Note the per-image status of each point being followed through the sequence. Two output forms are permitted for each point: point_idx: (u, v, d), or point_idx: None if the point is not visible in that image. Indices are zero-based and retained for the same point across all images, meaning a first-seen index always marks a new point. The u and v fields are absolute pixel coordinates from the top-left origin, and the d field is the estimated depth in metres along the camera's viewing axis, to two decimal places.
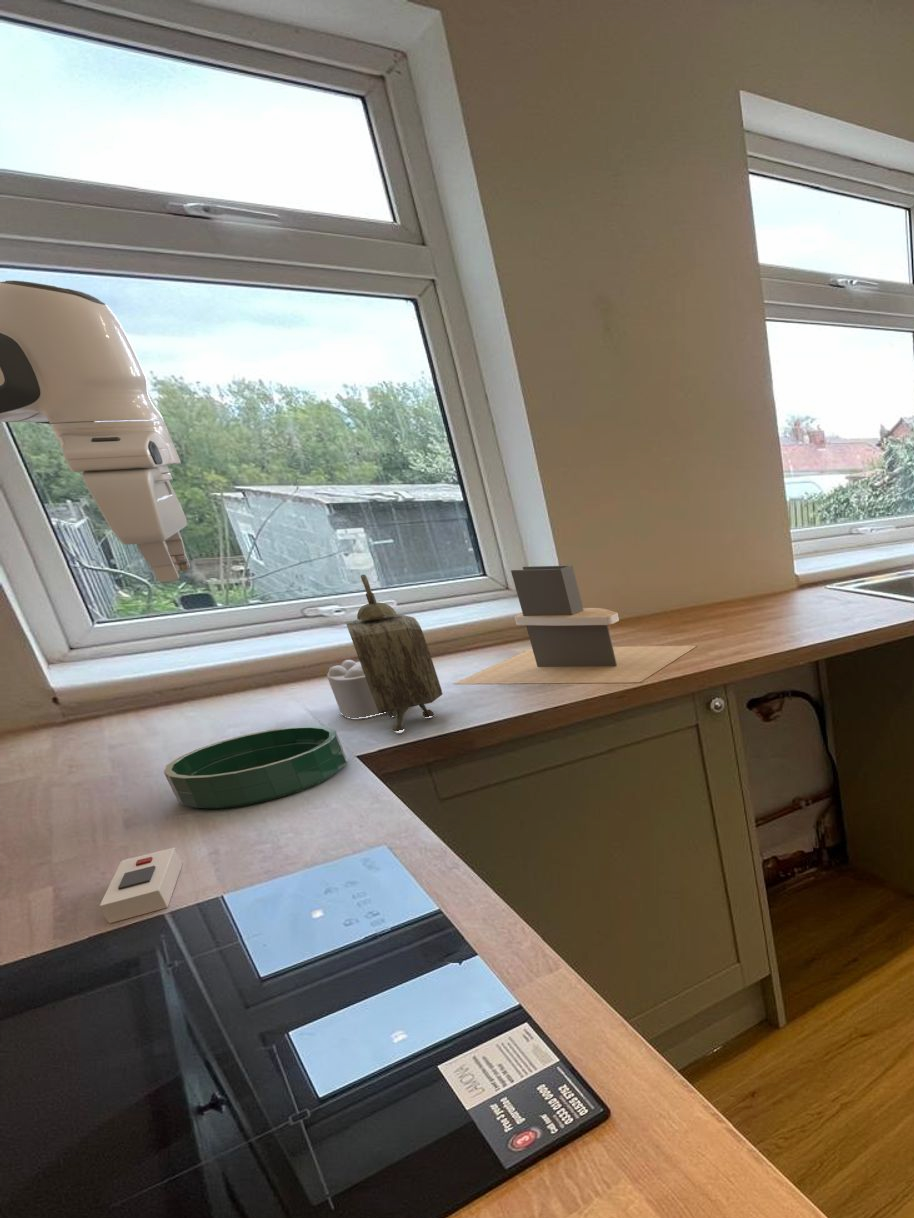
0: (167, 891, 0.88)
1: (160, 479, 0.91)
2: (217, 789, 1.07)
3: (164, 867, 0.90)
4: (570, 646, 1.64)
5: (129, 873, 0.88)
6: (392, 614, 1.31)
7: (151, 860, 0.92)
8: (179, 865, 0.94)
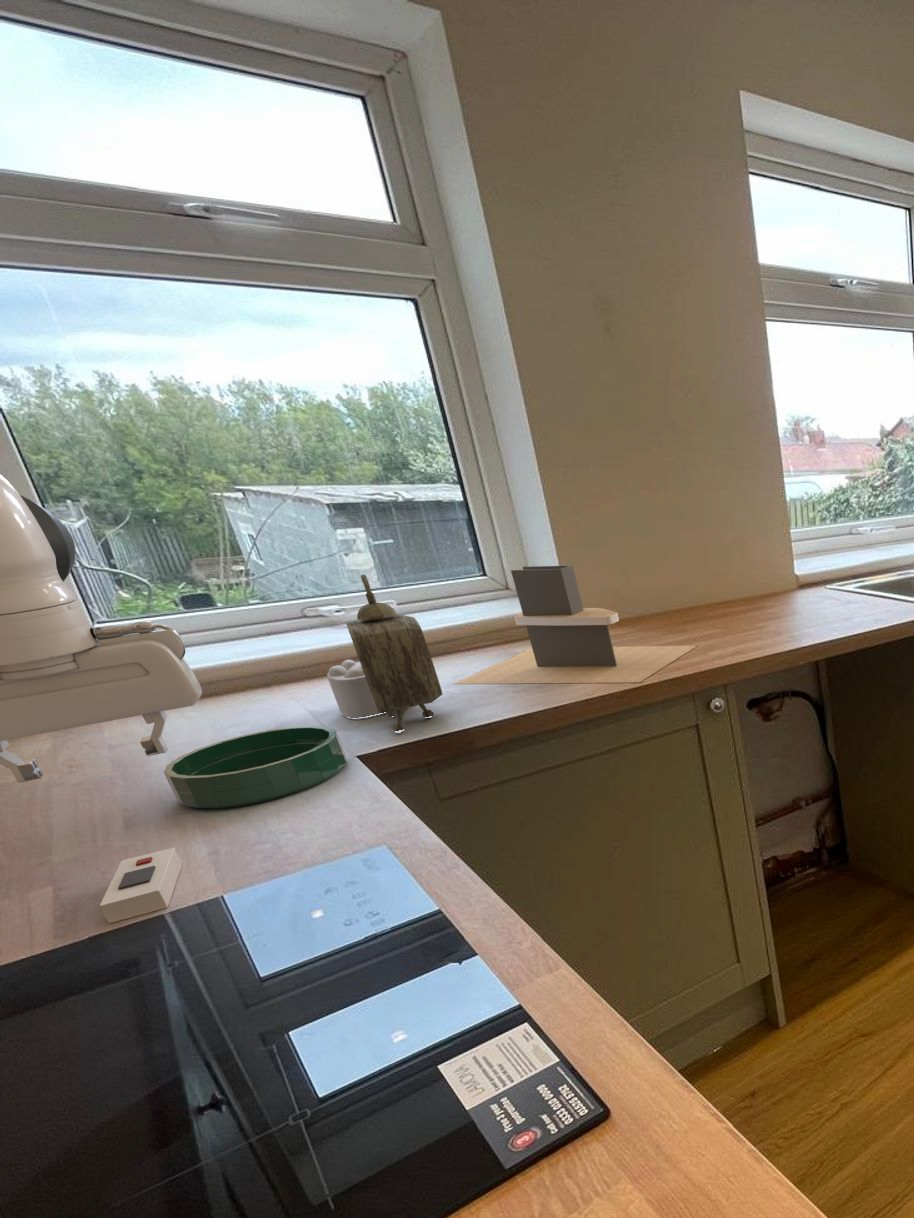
0: (167, 891, 0.88)
1: (7, 678, 0.78)
2: (217, 789, 1.07)
3: (164, 867, 0.90)
4: (570, 646, 1.64)
5: (129, 873, 0.88)
6: (392, 614, 1.31)
7: (151, 860, 0.92)
8: (179, 865, 0.94)
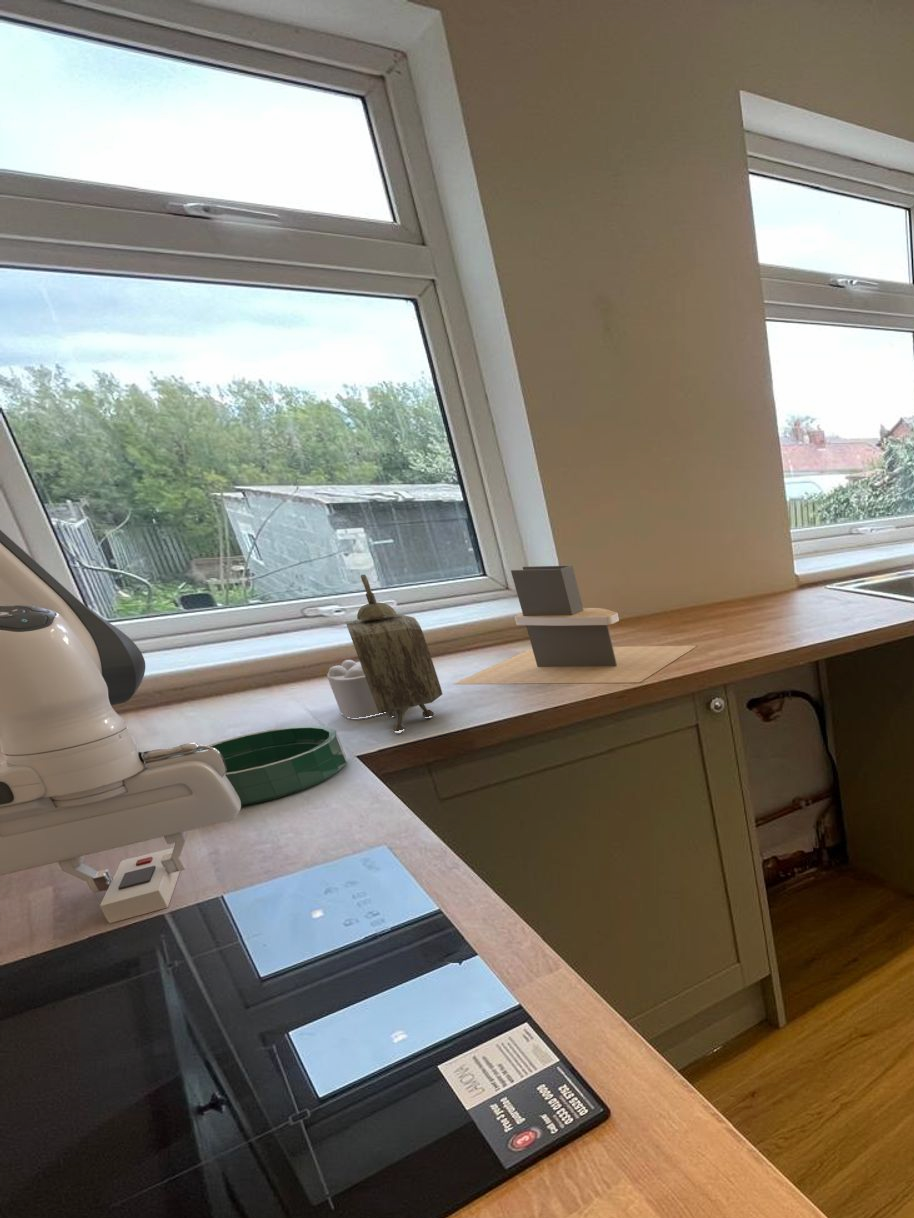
0: (167, 891, 0.88)
1: (61, 805, 0.82)
2: None
3: (164, 867, 0.90)
4: (570, 646, 1.64)
5: (129, 873, 0.88)
6: (392, 614, 1.31)
7: (152, 860, 0.92)
8: None
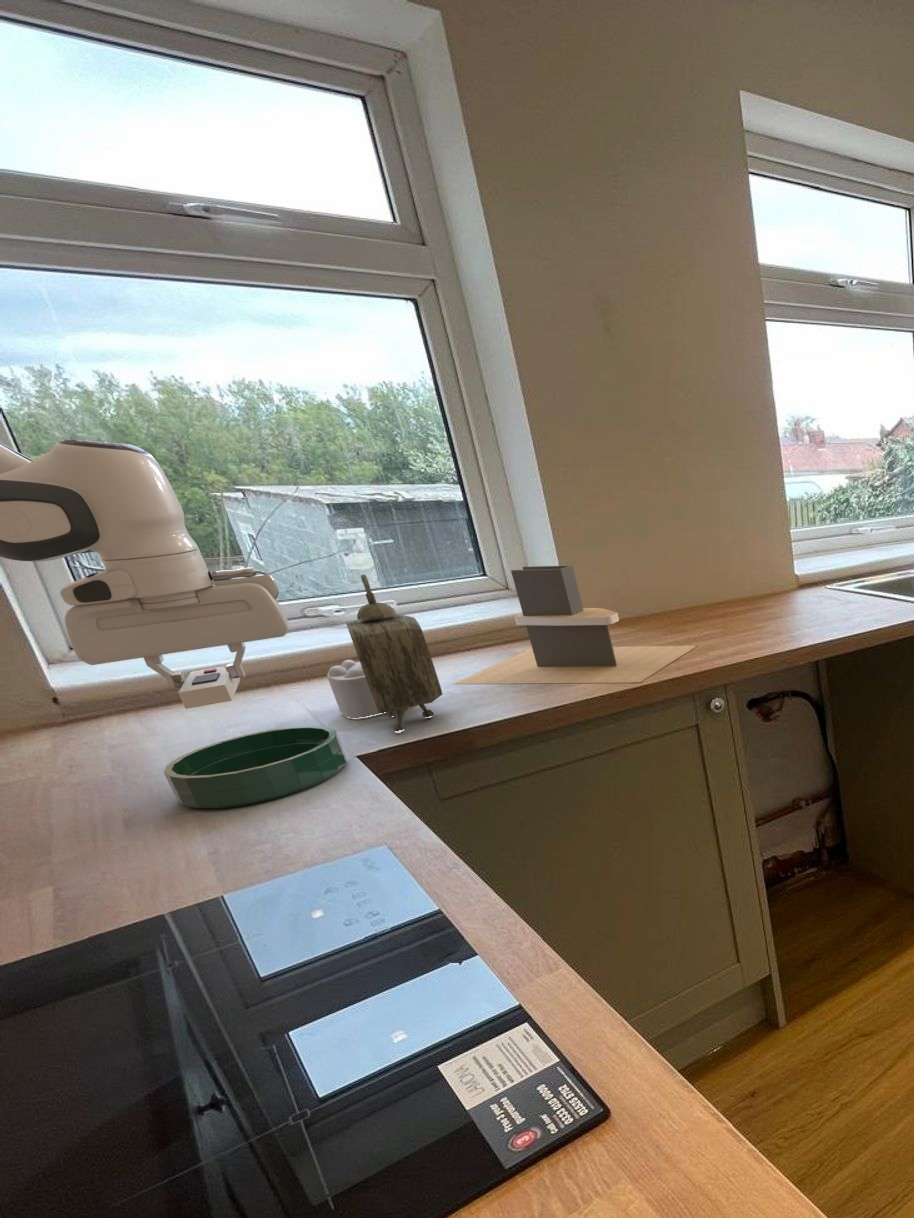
0: (231, 690, 1.06)
1: (148, 608, 1.00)
2: (217, 789, 1.07)
3: (227, 674, 1.08)
4: (570, 646, 1.64)
5: (199, 676, 1.07)
6: (392, 614, 1.31)
7: (216, 671, 1.10)
8: (238, 679, 1.12)
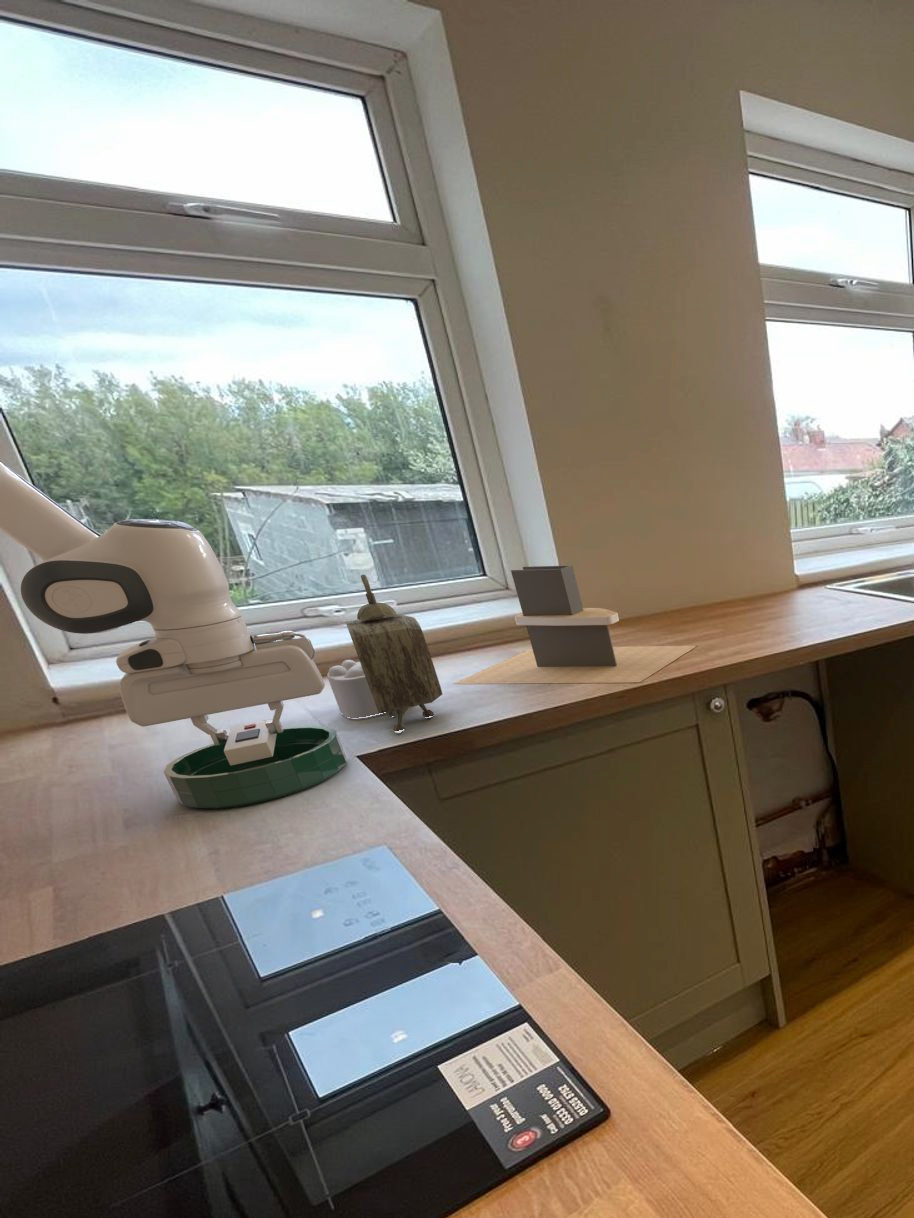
0: (271, 745, 1.13)
1: (195, 672, 1.07)
2: (217, 789, 1.07)
3: (267, 730, 1.15)
4: (570, 646, 1.64)
5: (241, 732, 1.13)
6: (392, 614, 1.31)
7: (255, 726, 1.17)
8: None
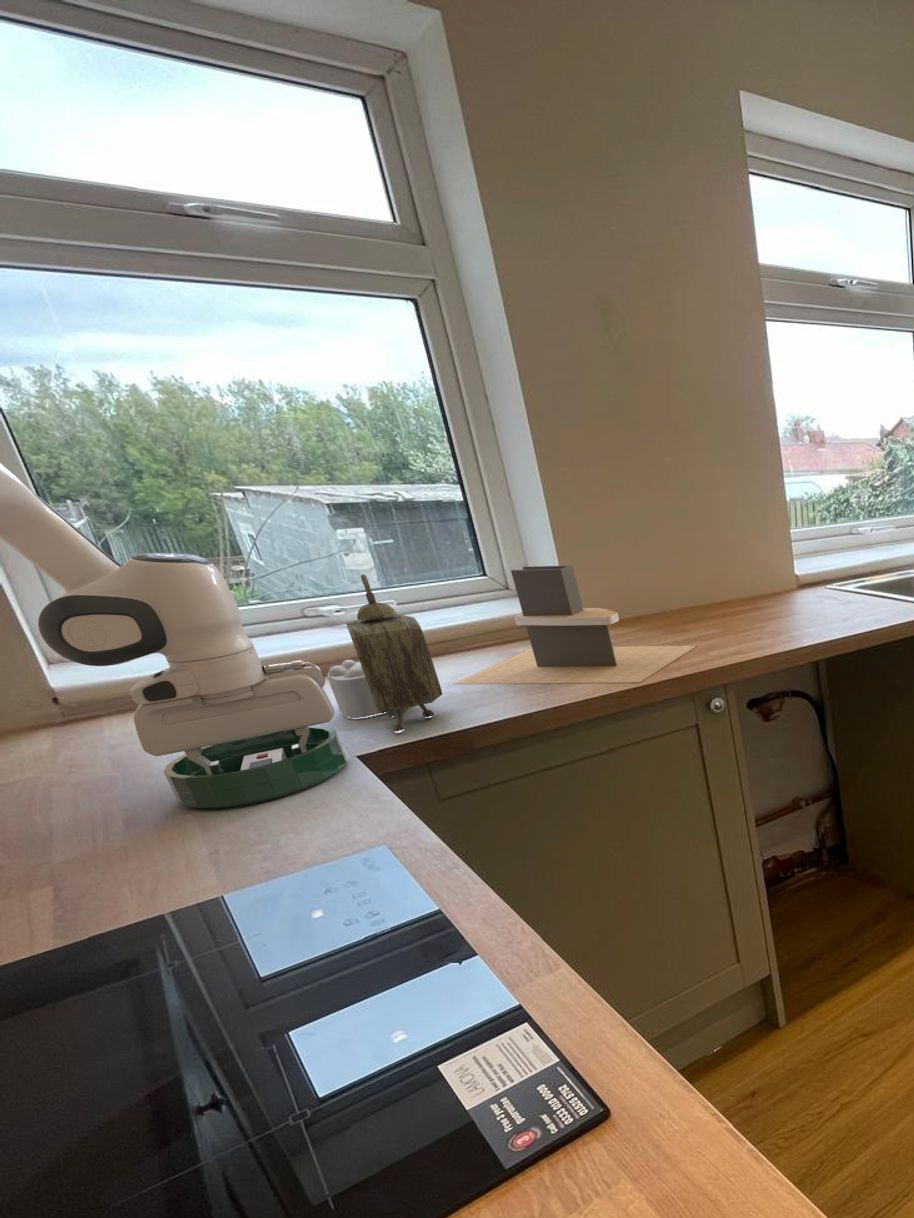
0: None
1: (208, 703, 1.08)
2: (217, 789, 1.07)
3: (279, 759, 1.17)
4: (570, 646, 1.64)
5: (253, 762, 1.15)
6: (392, 614, 1.31)
7: (267, 755, 1.18)
8: None
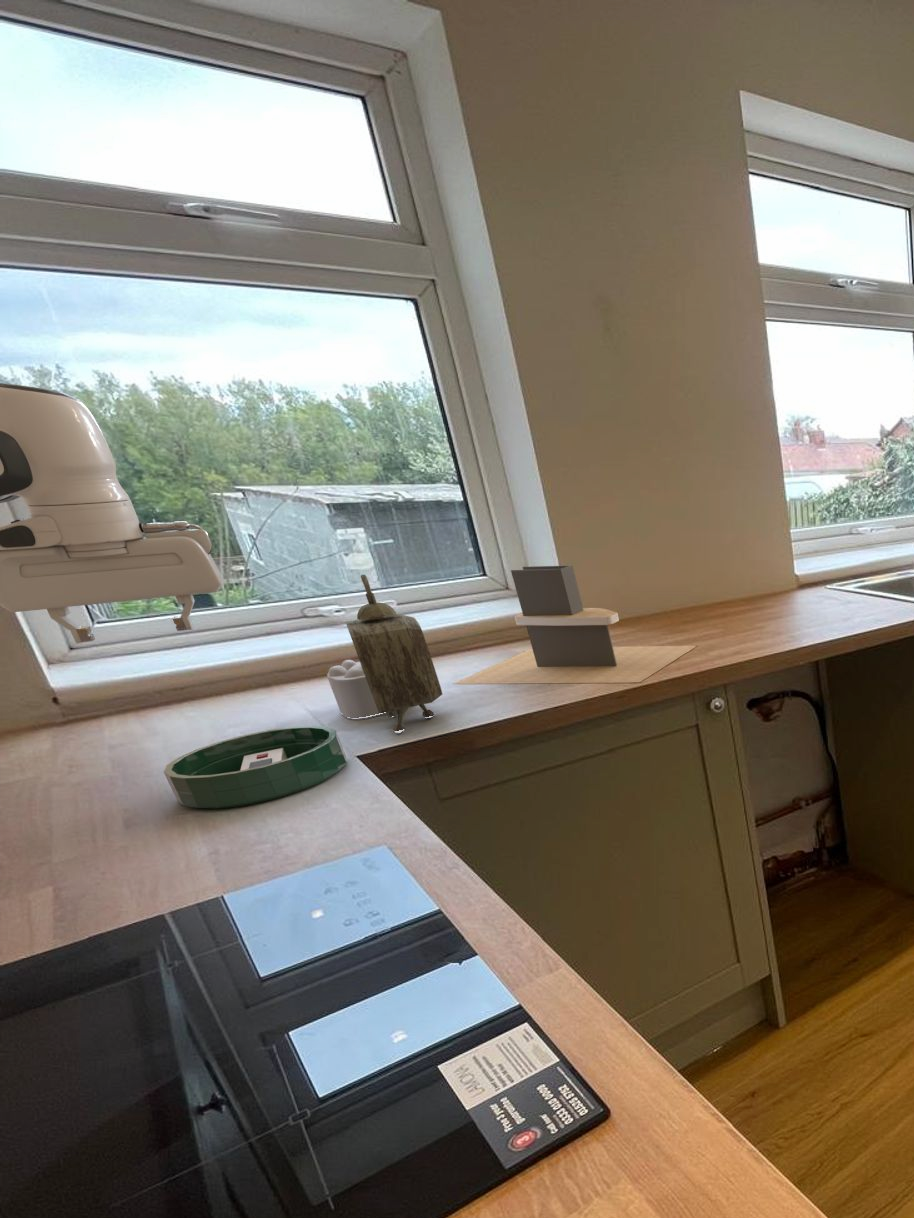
0: None
1: (74, 556, 0.99)
2: (217, 789, 1.07)
3: (279, 759, 1.17)
4: (570, 646, 1.64)
5: (253, 762, 1.15)
6: (392, 614, 1.31)
7: (267, 755, 1.18)
8: None
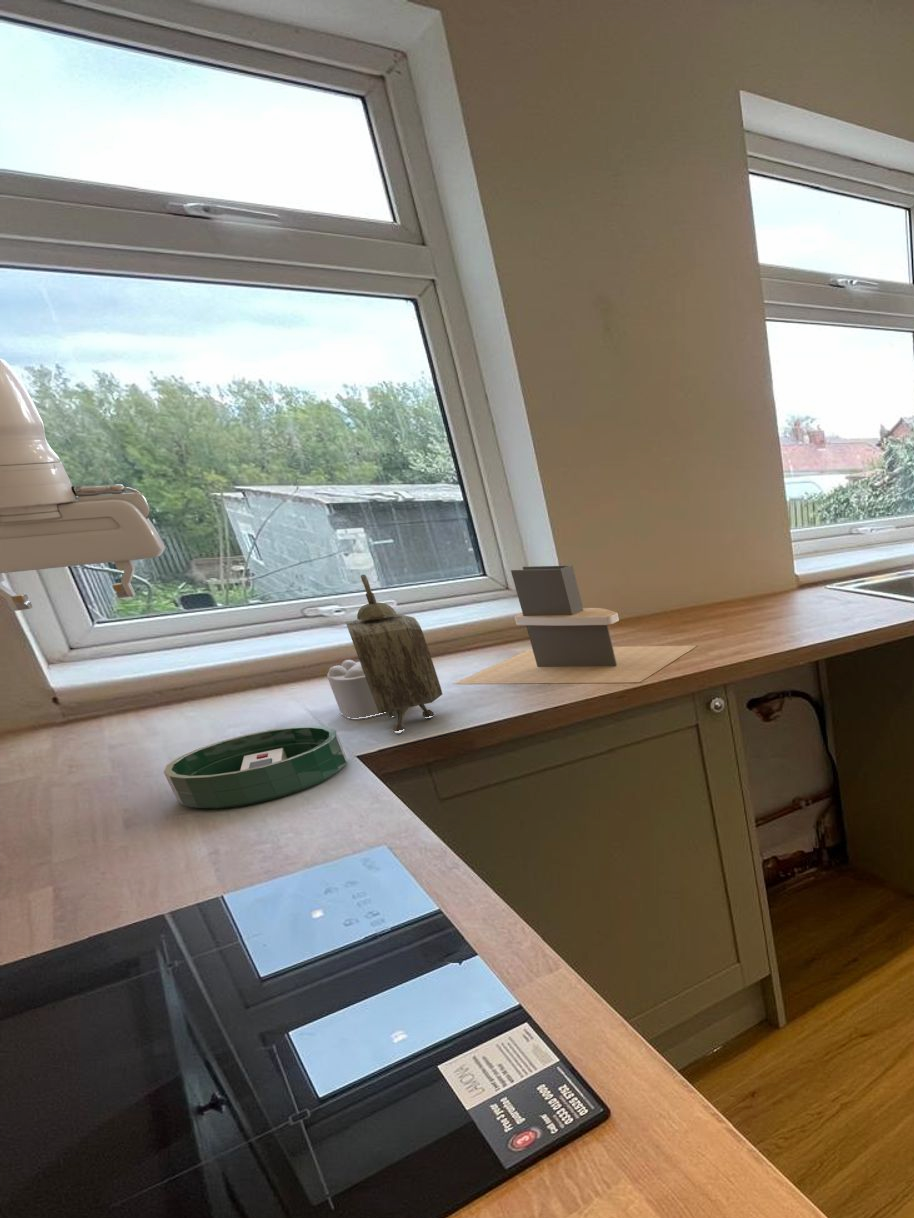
0: None
1: (3, 520, 0.96)
2: (217, 789, 1.07)
3: (279, 759, 1.17)
4: (570, 646, 1.64)
5: (253, 762, 1.15)
6: (392, 614, 1.31)
7: (267, 755, 1.18)
8: None
